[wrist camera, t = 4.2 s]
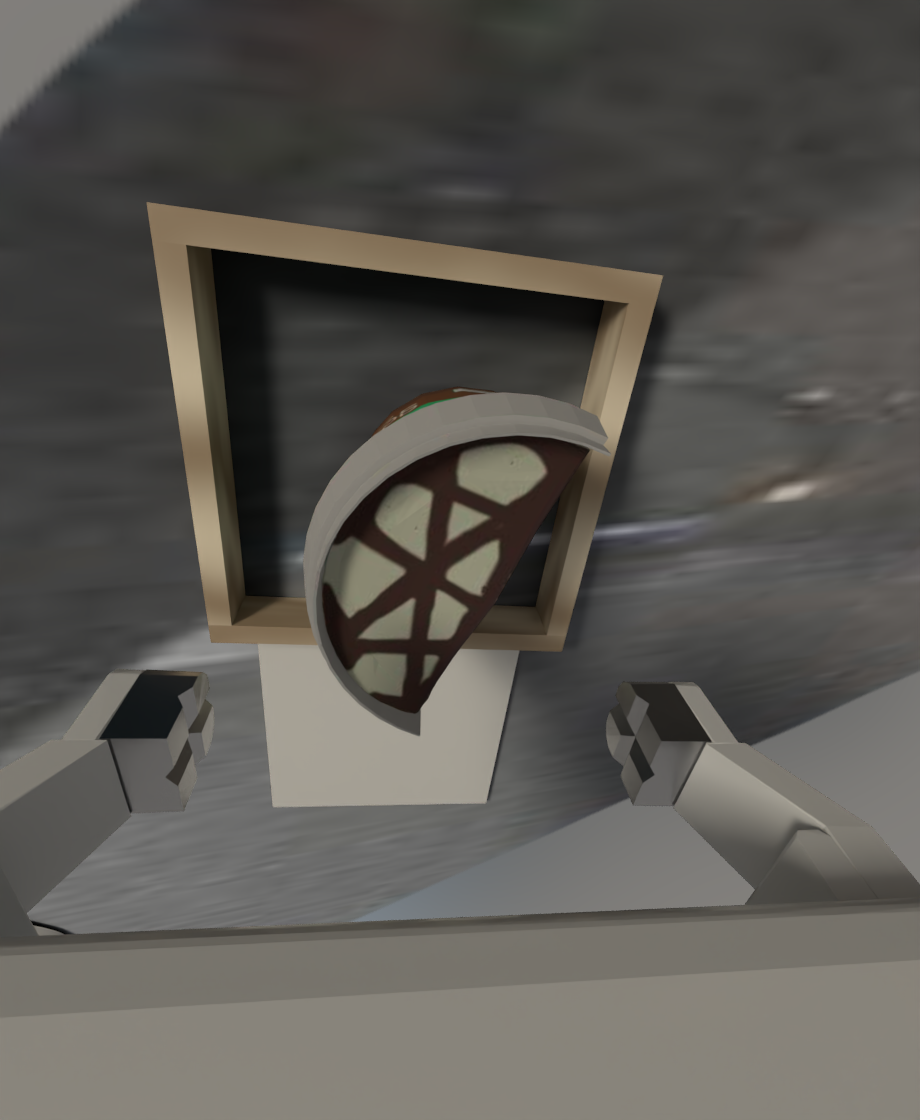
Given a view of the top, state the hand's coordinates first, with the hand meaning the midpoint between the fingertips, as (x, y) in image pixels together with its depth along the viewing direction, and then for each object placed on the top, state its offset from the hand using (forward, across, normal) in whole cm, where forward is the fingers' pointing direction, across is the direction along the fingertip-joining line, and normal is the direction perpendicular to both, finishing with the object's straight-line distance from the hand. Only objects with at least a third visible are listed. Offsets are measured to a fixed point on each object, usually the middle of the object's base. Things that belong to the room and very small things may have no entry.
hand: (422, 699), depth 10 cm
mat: (+15, 0, -17) cm, 22 cm away
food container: (+15, 0, 0) cm, 15 cm away
